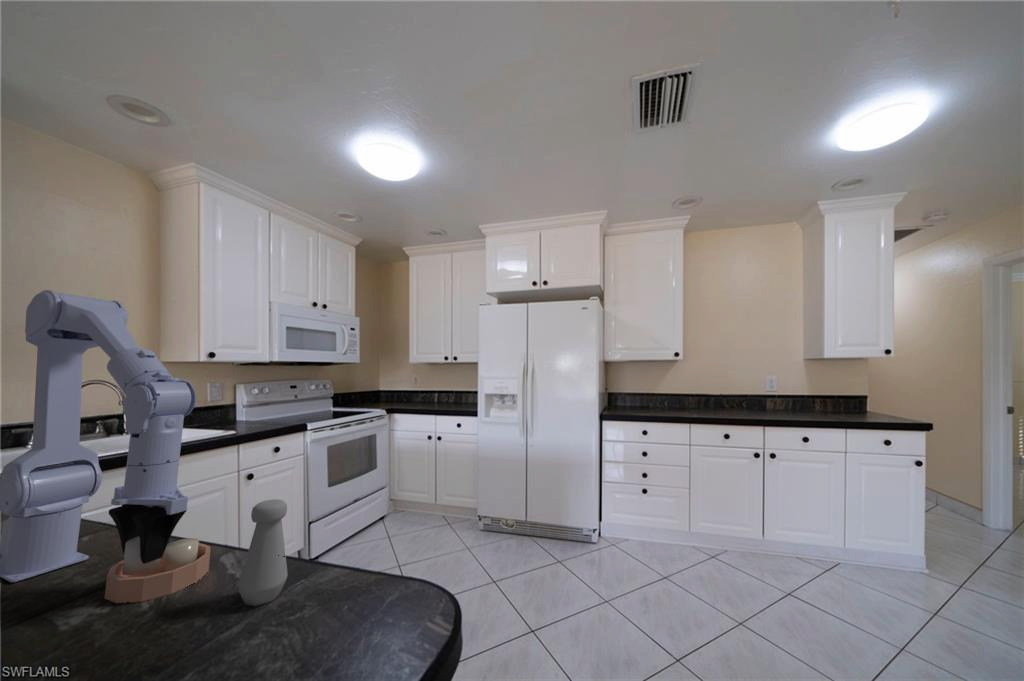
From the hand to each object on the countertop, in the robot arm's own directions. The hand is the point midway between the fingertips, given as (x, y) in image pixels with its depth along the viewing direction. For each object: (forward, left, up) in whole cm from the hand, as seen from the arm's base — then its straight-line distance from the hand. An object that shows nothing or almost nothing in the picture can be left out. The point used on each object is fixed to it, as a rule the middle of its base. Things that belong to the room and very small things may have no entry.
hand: (143, 557), depth 54 cm
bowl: (0, +3, -4) cm, 5 cm away
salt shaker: (+18, +6, -5) cm, 19 cm away
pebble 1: (0, 0, -2) cm, 2 cm away
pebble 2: (0, +5, -4) cm, 6 cm away
